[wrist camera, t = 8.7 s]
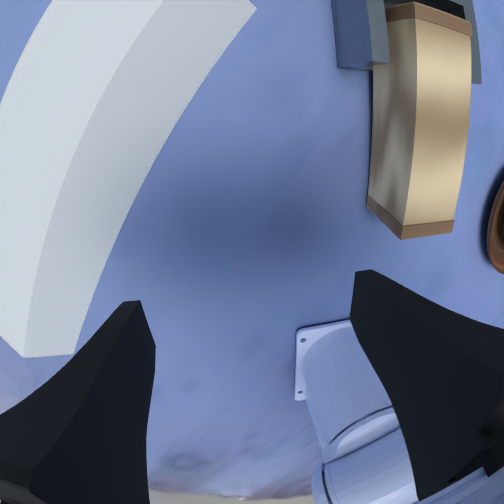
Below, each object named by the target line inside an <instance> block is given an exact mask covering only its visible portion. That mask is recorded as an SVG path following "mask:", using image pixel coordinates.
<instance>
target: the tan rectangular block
mask: <svg viewBox="0 0 504 504" xmlns="http://www.w3.org/2000/svg"><path fill="white" fill-rule="evenodd" d="M385 15H386V23H387V32H388V42H389V54H390V63H389V64H381V65H374V66H373V124H372V146H371V162H370V176H369V187H368V194H367V201H366V206H367V208H369V209H370V210H371V211H372V212H373V213H374V214H375V215H376V216H377V217H378V218H379V219H380V220H381V221H382V222H383V223H384V224H385V225H386V226H387V227H388V228H389V229H390V230H391V231H392V232H393V233H394V234H395V235H396V236H397V237H398V238H399V239H400V240H403V239H410V238H417V237H425V236H432V235H439V234H446V233H450V232H452V229H453V225H454V220H453V218H454V214H455V209H456V205H457V200H458V195H459V190H460V185H461V179H462V173H463V167H464V160H465V153H466V146H467V137H468V127H469V116H470V101H471V37H472V25H471V23H470V22H468V21H466V20H464V19H461V18H459V17H456V16H454V15H451V14H449V13H446V12H443V11H441V10H438V9H435V8H432V7H429V6H426V5H423V4H420V3H417V2H409V3H404V4H400V5H395V6H391V7H387V8H385Z"/></svg>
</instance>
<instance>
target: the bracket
mask: <svg viewBox="0 0 504 504" xmlns="http://www.w3.org/2000/svg"><path fill="white" fill-rule="evenodd" d="M409 2H417V3H420V4H423V5H426V6H429V7H432V8H435V9H438V10H441V11H443V12H446V13H449V14H451V15H454V16H456V17H459V18H461V19H464V20H466V21H468V22H470V23H471V25H472V37H471V84H482V83H481V64H480V52H479V43H478V34H477V27H476V20H475V14H474V8H473V3H472V0H331V4H332V13H333V22H334V31H335V42H336V54H337V68H347V69H359V70H369V71H373V66H374V65H381V64H389V63H390V54H389V42H388V32H387V23H386V15H385V8H387V7H391V6H395V5H400V4H404V3H409Z"/></svg>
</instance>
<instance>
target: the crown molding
mask: <svg viewBox="0 0 504 504" xmlns="http://www.w3.org/2000/svg"><path fill="white" fill-rule="evenodd" d="M256 9H257V8H256V7H255V6H254V5H253V4H252V3H251V2H250V1H249V0H52V2H51V3H50V5H49V6H48V8H47V10H46V11H45V13H44V14H43V16H42V18H41V19H40V21H39V23H38V25H37V26H36V28H35V30H34V32H33V33H32V35H31V37H30V39H29V41H28V43H27V45H26V47H25V49H24V51H23V53H22V55H21V57H20V59H19V61H18V63H17V65H16V67H15V69H14V72H13V74H12V76H11V79H10V81H9V83H8V86H7V88H6V91H5V93H4V96H3V98H2V101H1V104H0V336H1V337H2V338H3V339H4V340H5V341H6V342H7V343H8V344H9V345H10V346H11V347H13V348H14V349H15V350H16V351H17V352H18V353H19V354H20V355H21V356H22V357H23V358H25V357H41V356H54V355H66V354H73V353H74V350H75V347H76V344H77V340H78V337H79V334H80V331H81V328H82V325H83V322H84V319H85V316H86V314H87V311H88V308H89V305H90V302H91V300H92V297H93V294H94V292H95V289H96V286H97V284H98V281H99V279H100V276H101V274H102V271H103V269H104V266H105V264H106V261H107V259H108V256H109V254H110V252H111V249H112V247H113V245H114V242H115V240H116V238H117V236H118V233H119V231H120V229H121V227H122V225H123V223H124V220H125V218H126V216H127V214H128V212H129V210H130V208H131V206H132V204H133V202H134V200H135V197H136V195H137V193H138V191H139V190H140V188H141V186H142V184H143V182H144V180H145V178H146V176H147V174H148V172H149V170H150V168H151V167H152V165H153V163H154V161H155V159H156V157H157V156H158V154H159V152H160V150H161V148H162V147H163V145H164V143H165V141H166V140H167V138H168V136H169V134H170V133H171V131H172V129H173V128H174V126H175V124H176V123H177V121H178V119H179V118H180V116H181V114H182V113H183V111H184V110H185V108H186V106H187V105H188V103H189V102H190V100H191V99H192V97H193V95H194V94H195V92H196V91H197V89H198V88H199V86H200V85H201V83H202V82H203V80H204V79H205V77H206V76H207V74H208V73H209V71H210V70H211V69H212V67H213V66H214V64H215V63H216V61H217V60H218V59H219V57H220V56H221V55H222V53H223V52H224V50H225V49H226V48H227V46H228V45H229V44H230V42H231V41H232V40H233V38H234V37H235V36H236V34H237V33H238V32H239V31H240V29H241V28H242V27H243V25H244V24H245V23H246V22H247V20H248V19H249V18H250V17H251V15H252V14H253V13H254V12H255V11H256Z"/></svg>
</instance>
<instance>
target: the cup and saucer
mask: <svg viewBox="0 0 504 504" xmlns="http://www.w3.org/2000/svg"><path fill="white" fill-rule="evenodd" d="M487 250H488V256H489V259H490V262H491V264H492V265H493V267H494V268H495V269H496V270H497V271H498V272H499V273H502V274H504V180H503V182H502V183H501V185H500V187H499V189H498V192H497V194H496V196H495V199H494V202H493V205H492V208H491V212H490V216H489V221H488V229H487Z"/></svg>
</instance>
